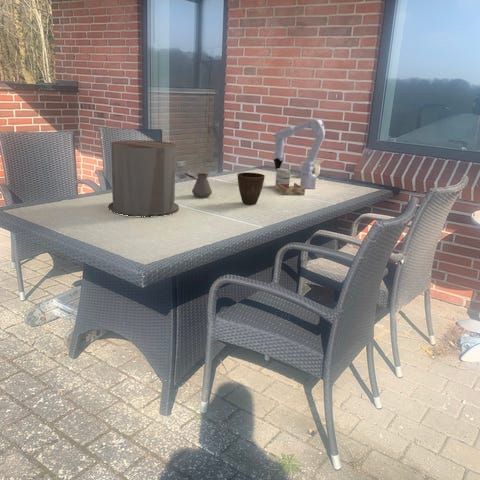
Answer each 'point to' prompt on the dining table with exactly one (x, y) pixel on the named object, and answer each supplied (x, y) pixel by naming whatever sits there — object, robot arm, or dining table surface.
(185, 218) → the dining table surface
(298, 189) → the pine u-shaped frame
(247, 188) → the plant pot
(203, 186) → the coffee pot
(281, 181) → the ink box
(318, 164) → the pitcher
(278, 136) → the robot arm
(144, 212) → the storage basket
